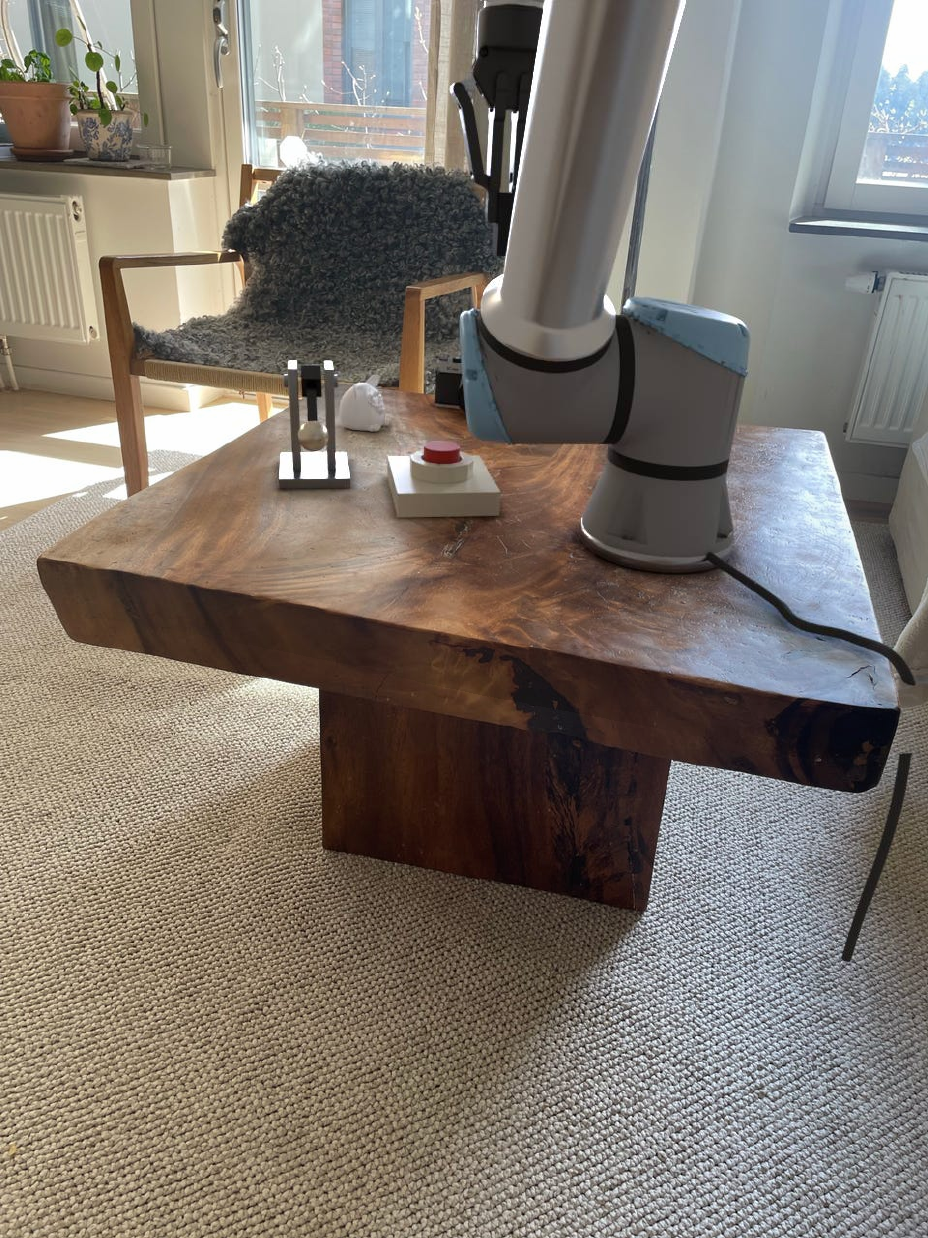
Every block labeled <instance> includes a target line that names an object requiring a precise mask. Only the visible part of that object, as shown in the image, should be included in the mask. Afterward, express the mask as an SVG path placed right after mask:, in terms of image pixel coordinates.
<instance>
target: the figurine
mask: <svg viewBox="0 0 928 1238" xmlns="http://www.w3.org/2000/svg"><path fill="white" fill-rule="evenodd" d="M379 382H380V376H379V374H376V373H375V374H372V375H370V377H369V378H368V379H367V380H366V381H365V382H358V383H354V384H353V385H352V386H350V387H349V388H348V389H347V390H346V392H345V393H344V395H343V396H342V398H341V401H340V405H339V408H338V409H339V410H338V411H339V419H340V422H341V425H342V426H343V427H344V428H346V429H348V430H352V431H353V430H354V431H363V432H368V431H369V432H370V433H373V432H376V433H377V432H378V431H380V430H381V427H387V426H388V425H389V424H390V421H389V419H388V418H387V415H386V414H387V413H386V408H385V407H386V406H385V404H384V399H383V395H382V393H383V391H381V390H380V391H379V390H378V389H377V388H376V387H377V386H378V384H379Z"/></svg>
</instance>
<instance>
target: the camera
mask: <svg viewBox="0 0 928 1238" xmlns="http://www.w3.org/2000/svg"><path fill="white" fill-rule="evenodd" d="M433 372H434V374H435V376H434V377H435V379H434V385H435V386H434V401H433V402H434V403H433V404H434V406H435V407H439V408H449V409H457V410H461V411H462V412H463V413H464V414H466V410H465V399H464V388H463V375H462V362H461V356H459V355H458V356H457V355H456V356H452V357H449V356H448V357H446V356H440V357H438V358H437V360H436V361H435V366H434V371H433Z"/></svg>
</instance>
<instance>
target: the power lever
mask: <svg viewBox="0 0 928 1238" xmlns="http://www.w3.org/2000/svg"><path fill="white" fill-rule="evenodd" d="M321 367H322V366H321V365H320V364H300V384H301V387H300V388H301V398H306V412H307V413H306V416H307V417H306V418H307V421H306V422H303V424H301V425H300V429H299V431H298V440H299V443H300V444H301V448H303V449H304V450H306V451H308V452H320V451H321V450H323V449H324V448H326V444H327V442H328V431H327V429H326V425H324V424H323V423H322V422H320V421H319V419H318V417H319V416H318V414H319V413H318V398H322V396H323V395H322V393H323V392H322V369H321Z"/></svg>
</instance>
